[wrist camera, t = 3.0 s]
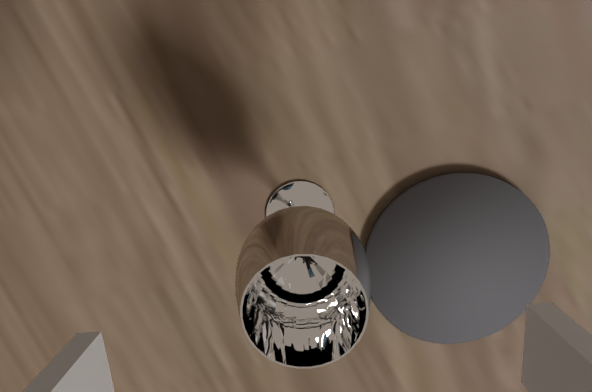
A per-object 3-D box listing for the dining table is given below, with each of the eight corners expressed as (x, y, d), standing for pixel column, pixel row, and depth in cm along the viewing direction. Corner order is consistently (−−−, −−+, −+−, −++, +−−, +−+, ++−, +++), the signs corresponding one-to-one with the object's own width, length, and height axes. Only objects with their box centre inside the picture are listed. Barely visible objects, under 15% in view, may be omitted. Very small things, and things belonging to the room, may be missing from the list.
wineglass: (317, 269, 27) (333, 404, 15) (240, 230, 26) (197, 342, 15) (361, 196, 26) (415, 284, 14) (282, 154, 25) (270, 209, 13)
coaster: (360, 179, 25) (362, 181, 25) (551, 165, 25) (557, 166, 25) (366, 344, 28) (368, 349, 28) (537, 332, 28) (542, 337, 28)
